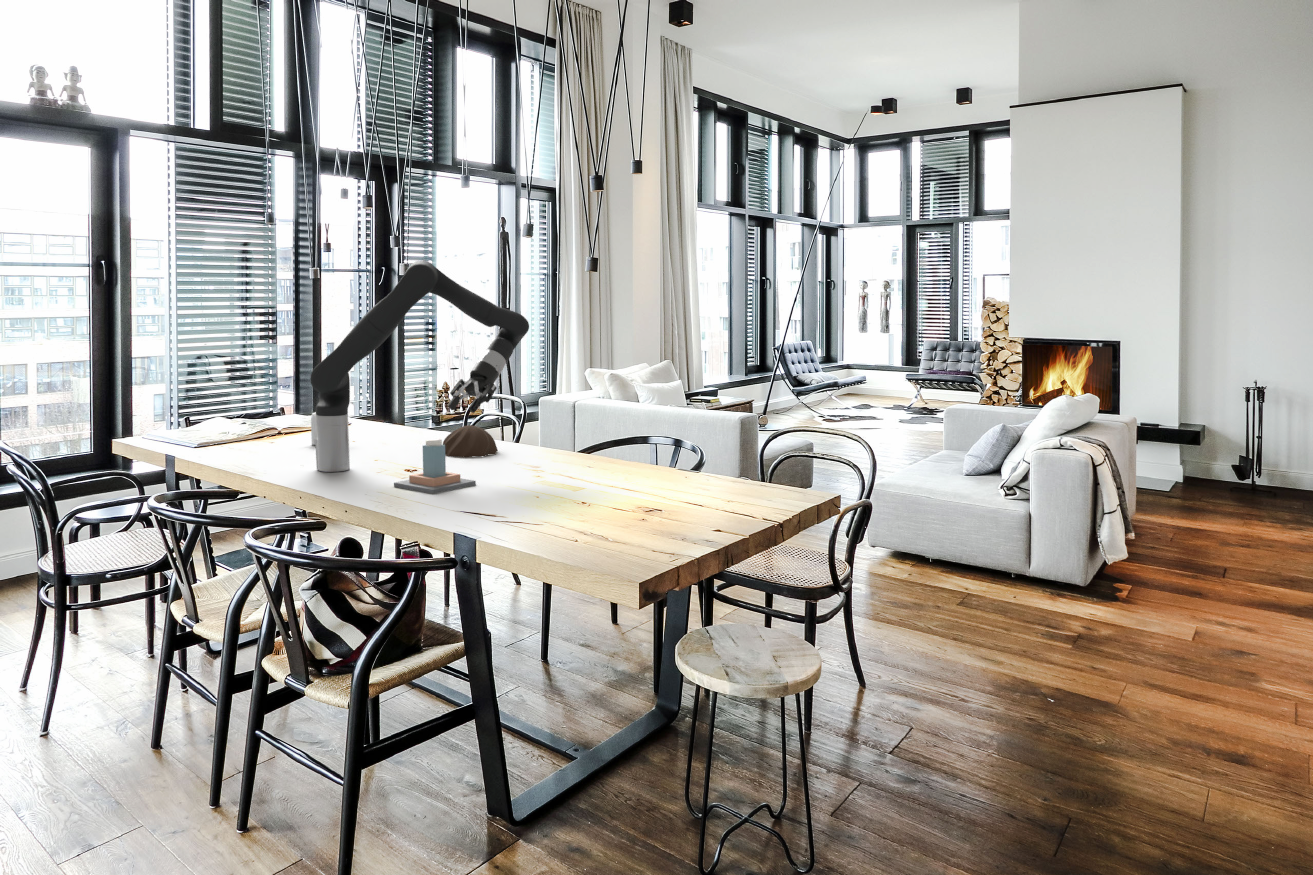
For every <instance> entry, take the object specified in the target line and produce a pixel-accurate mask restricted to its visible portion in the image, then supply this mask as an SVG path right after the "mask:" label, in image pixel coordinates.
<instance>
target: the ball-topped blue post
mask: <svg viewBox="0 0 1313 875" xmlns="http://www.w3.org/2000/svg"><path fill="white" fill-rule="evenodd" d="M446 467H447V466H446V455H445V445H443V440H442V439H441V438H430V439H428V438H427V439H425V444H424V445H423V444H422V470H423V471H422V473H423V476H425V477H430V478H437V477H442V476H446V472H447V471H446Z"/></svg>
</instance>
